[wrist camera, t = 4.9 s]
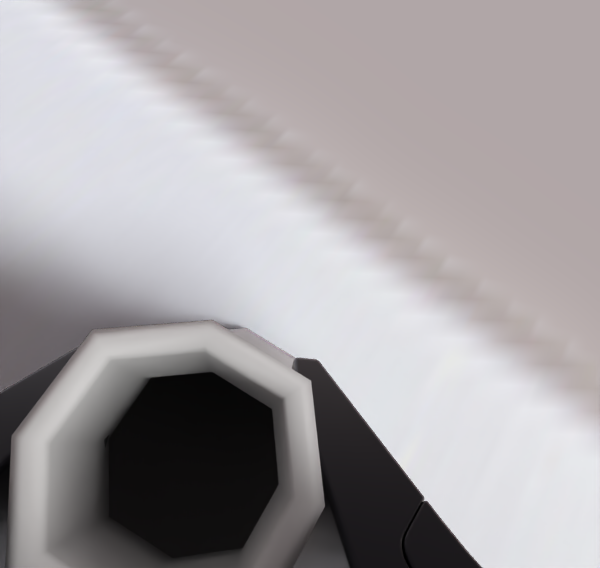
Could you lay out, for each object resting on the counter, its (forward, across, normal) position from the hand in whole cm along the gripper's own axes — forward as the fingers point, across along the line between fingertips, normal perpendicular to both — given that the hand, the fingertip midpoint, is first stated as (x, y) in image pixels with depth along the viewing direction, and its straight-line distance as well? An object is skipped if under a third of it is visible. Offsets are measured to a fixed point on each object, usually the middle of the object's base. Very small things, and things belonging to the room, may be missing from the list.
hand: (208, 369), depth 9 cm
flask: (+4, 0, +6) cm, 7 cm away
